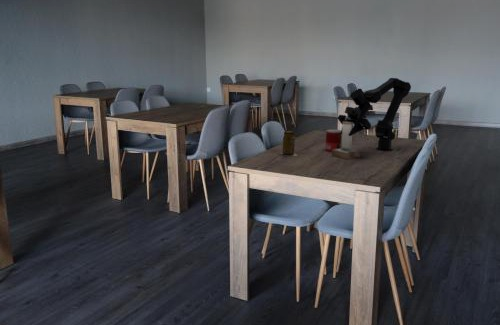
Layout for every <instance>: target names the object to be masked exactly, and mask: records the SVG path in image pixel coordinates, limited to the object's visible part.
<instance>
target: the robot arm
mask: <svg viewBox="0 0 500 325" xmlns="http://www.w3.org/2000/svg"><path fill="white" fill-rule="evenodd" d="M411 89H412V85H411V83H410V82H408V81H405V80H402V79H400V78H397V77H390V78H388V80H386V81H385V82H383V83H382V84H380V85H379V86H377V87H376V88H373V89H370V90H367V91H365V92H364V91H363V89H362V88H357V89H356V90H353V91H352V92H351V93H350V95H349V96H350V99H351V101H353V103H354V104H355V105H356V106H355V107H353V106H352V107H351V106H346V108H345V111H344V114H347V115H348V116H347V115H344V114H339V115H338V116H337V119H338V121H339V122H340V123H339V124H341V125H342V127H343V121H352V122H353V128H352V130H351V131H350V133H349V136H351V135H352V136H353V135H355V134H357V133H359V132H361V131H364V130H368V131H370V129H371V127H372V124H371V123H370V121H369V119H368V118H367V116H366V115H367V114H368V112H369V111H374V107H373V105H372V104H378V102H379V101H380V100H381V98H382V97H383V95H385V94H386V93H387V92H389V91H390V90H392V91H393V97H392V99H391V101H390V104H389V106H388V108H387V110H386V113H385V115H384V118H383V119H382V120H378V121H377V123H376V126H375V130H374V131H375V136H376V138H378V142H377V147H376V149H377V150H380V151H393V150H394V149H393V148H392V141H393V140H395V139H396V138H395V137H396V134H395V132H394V131H393V130H394V125H393V123H394V120H395V119H396V118H395V117H396V115H397V112H399V108H400V106H401V103H402V101H403V99H404V98H406V97H407V96H408V94H409V93H410V91H411ZM342 127H341V128H342ZM341 135H342V129H341Z"/></svg>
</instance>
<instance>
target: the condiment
mask: <svg viewBox="0 0 500 325" xmlns="http://www.w3.org/2000/svg"><path fill="white" fill-rule="evenodd" d="M295 138H296V137H295V132H294V131H293V130H284V132H283V137H282V152H279V154H280V155H283V156H285V157H297V156H299V155H298V154H296V153H295V144H296V143H295V142H296V139H295Z"/></svg>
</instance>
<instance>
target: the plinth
mask: <svg viewBox="0 0 500 325" xmlns="http://www.w3.org/2000/svg"><path fill="white" fill-rule="evenodd" d="M331 156H332V157H335V158H340V159H342V160H343V159H344V160H350V159H351V160H352V159H356V158H360V157H361V151H360V150H357V149H353V148H342V147H341V148H340V149H334V150H332V152H331Z"/></svg>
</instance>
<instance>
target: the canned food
mask: <svg viewBox="0 0 500 325" xmlns="http://www.w3.org/2000/svg"><path fill="white" fill-rule="evenodd" d="M341 130H342V129H341ZM341 130H340V129H332V128H331V129H326V131H325V136H326V137H325V151H327V152H331V153H332V150H334V149H341V148H342V147H341V145H342V134H341Z"/></svg>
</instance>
